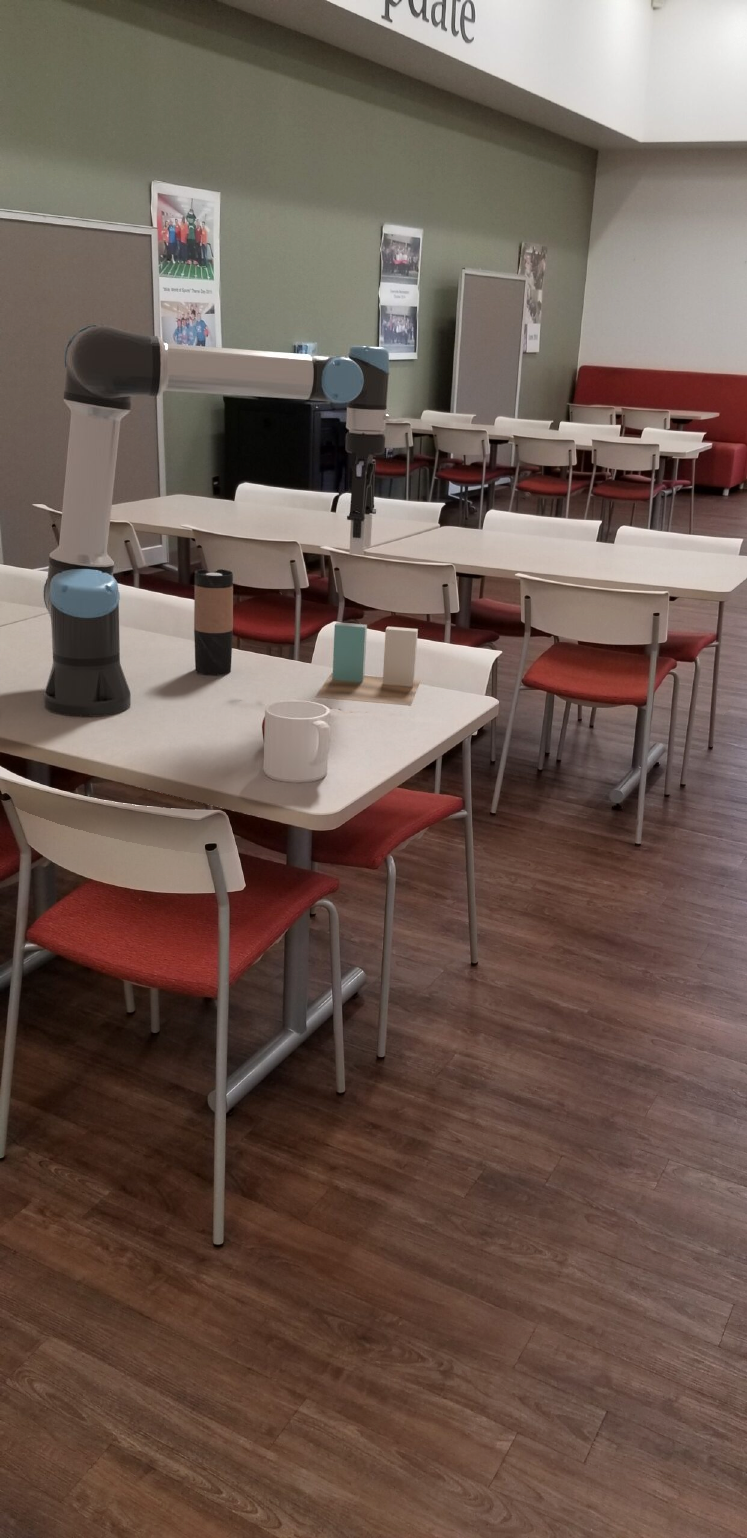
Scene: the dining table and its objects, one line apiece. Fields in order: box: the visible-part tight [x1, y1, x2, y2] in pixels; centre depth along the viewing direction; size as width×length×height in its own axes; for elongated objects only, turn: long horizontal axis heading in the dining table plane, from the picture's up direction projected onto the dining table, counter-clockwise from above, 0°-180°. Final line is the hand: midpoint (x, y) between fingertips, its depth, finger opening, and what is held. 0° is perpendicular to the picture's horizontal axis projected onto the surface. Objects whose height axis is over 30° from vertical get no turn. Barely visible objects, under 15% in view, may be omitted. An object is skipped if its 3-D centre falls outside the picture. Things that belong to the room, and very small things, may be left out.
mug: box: [263, 699, 331, 784], centre depth 185 cm, size 13×10×10 cm
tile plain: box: [382, 626, 419, 687], centre depth 233 cm, size 2×6×11 cm, turn 82°
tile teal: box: [332, 621, 368, 682], centre depth 234 cm, size 2×6×11 cm, turn 82°
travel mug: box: [193, 568, 234, 676], centre depth 238 cm, size 8×8×20 cm
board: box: [315, 672, 421, 707], centre depth 231 cm, size 18×18×1 cm
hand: (360, 550), depth 235 cm, fingers open, 9 cm apart
